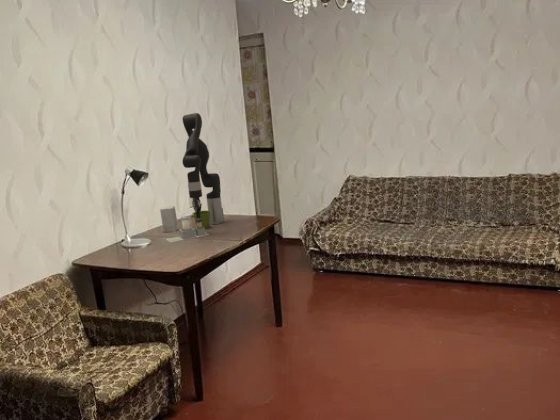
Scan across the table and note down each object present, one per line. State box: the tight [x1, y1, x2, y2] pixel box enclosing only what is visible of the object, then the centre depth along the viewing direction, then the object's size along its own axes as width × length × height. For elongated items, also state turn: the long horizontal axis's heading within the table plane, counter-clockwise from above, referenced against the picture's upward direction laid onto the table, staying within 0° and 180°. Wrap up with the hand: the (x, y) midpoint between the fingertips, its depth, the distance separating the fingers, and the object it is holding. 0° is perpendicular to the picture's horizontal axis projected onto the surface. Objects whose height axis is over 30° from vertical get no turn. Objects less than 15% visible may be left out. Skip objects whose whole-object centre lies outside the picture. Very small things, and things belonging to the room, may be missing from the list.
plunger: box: [194, 219, 202, 229], centre depth 316 cm, size 4×4×7 cm
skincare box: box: [159, 206, 179, 234], centre depth 338 cm, size 8×7×16 cm
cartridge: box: [181, 215, 191, 231], centre depth 313 cm, size 5×5×12 cm
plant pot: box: [192, 210, 211, 229], centre depth 334 cm, size 12×12×11 cm
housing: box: [165, 226, 210, 243], centre depth 314 cm, size 24×10×6 cm, turn 115°
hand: (198, 217), depth 315 cm, fingers closed
